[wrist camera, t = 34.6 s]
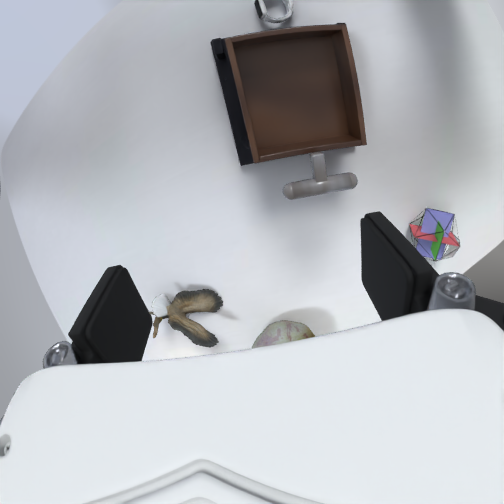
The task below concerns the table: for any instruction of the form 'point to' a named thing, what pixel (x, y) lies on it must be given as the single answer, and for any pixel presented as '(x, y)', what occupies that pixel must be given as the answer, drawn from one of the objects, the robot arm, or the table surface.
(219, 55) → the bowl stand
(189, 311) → the eagle figurine
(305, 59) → the open drawer
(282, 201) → the table surface
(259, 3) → the smartwatch
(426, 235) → the geometric puzzle
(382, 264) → the robot arm
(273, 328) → the fruit
